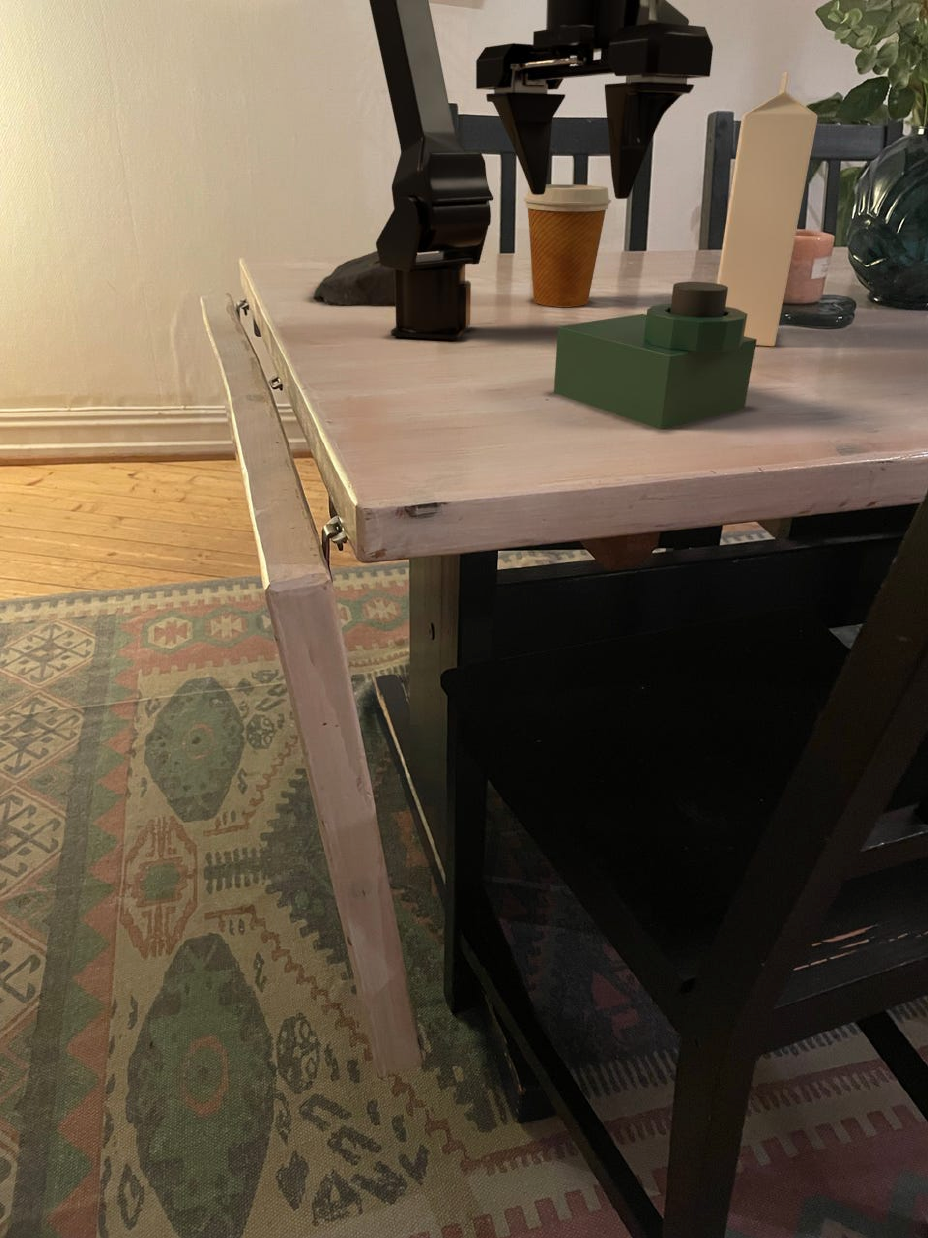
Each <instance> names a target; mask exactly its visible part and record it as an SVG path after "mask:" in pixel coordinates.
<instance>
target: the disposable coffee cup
mask: <svg viewBox="0 0 928 1238" xmlns="http://www.w3.org/2000/svg"><path fill="white" fill-rule="evenodd" d="M523 201H524V202H525V208H527V219H528V232H529V233H528V235H529V246H530V247H529V249H530V260H531V261H530V263H531V279H532V281H531V282H532V294H533V302H534V303H535V304H538V305H541V306H546V307H548V306H549V307H557V308H559V307H560V308H572V307H581V306H585V305H587V304H588V303H589V299H590V293H591V288H592V283H593V282H592V281H593V278H594V274H595V269H596V263H597V259H598V258H597V257H598V253H599V248H600V244H601V238H602V233H603V227H604V223H605V219H606V218H605V217H606V211H607V210H608V209H609V204H611V203H612V200H611V199H610V198H609V189H608V186H603V185H593V184H571V183H569V184H568V183H560V184H559V183H558V184H556V183H554V184H553V183H549V184H547V183H546V190H545V193H544V194H543V195H533V194H532V192H531V190H530V187H529V186H528V189H527V193H526V197H524V198H523Z"/></svg>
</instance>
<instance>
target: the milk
mask: <svg viewBox="0 0 928 1238" xmlns="http://www.w3.org/2000/svg"><path fill="white" fill-rule="evenodd" d="M789 73H790V70H789V69H788V70H786V71H785V72H783V73H782V76H781V83H780V88H779V93H778V94H776V95H775V96H773V97H771V98H769V99H767V100H766V101H764V102H762V103H761V104H759V105H758V106H756V107H754V108H753V109H750V110H749V111H747V112H745V113H744V114H742V115H741V122H740V127H739V134H738V141H737V147H736V154H735V159H734V160H735V161H734V167H733V173H732V174H733V175H732V181H731V187H730V194H729V195H730V196H729V201H728V206H727V207H728V208H727V212H726V213H727V214H726V222H725V226H724V227H725V228H724V234H723V240H722V247H721V255H720V260H719V268H718V274H717V281H716V284H721V285H725V286H727V287H728V292H727V299H726V305H725V307H730V308H736V309H738V310H740V311H742V312H744V313H747V320H746V326H745V332H744V336H745V337H749V338H754V339H757V341H756V346H762V347H763V346H764V347H775V345H776V341H777V336H778V330H779V325H780V319H781V314H782V309H783V303H784V298H785V293H786V288H787V283H788V277H789V271H790V266H791V261H792V255H793V250H794V245H795V240H796V233H797V228H798V223H799V218H800V213H801V208H802V203H803V196H804V192H805V187H806V181H807V175H808V171H809V165H810V159H811V156H812V155H811V153H812V149H813V144H814V139H815V133H816V129H817V122H818V114H816V113H815V112H814V111H813V110H811V109H810V108H808V107H807V106H806V105H804V104H803V103H802V102H800V101H799V100H798V99H796V98H795V97H794V96H792V95H791V94H790V93H788V92H787V84H788V79H789Z"/></svg>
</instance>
